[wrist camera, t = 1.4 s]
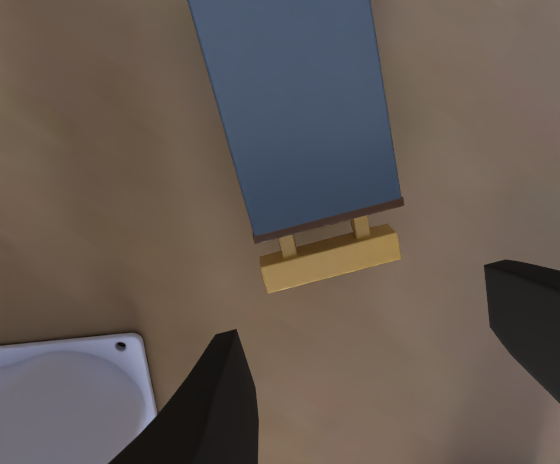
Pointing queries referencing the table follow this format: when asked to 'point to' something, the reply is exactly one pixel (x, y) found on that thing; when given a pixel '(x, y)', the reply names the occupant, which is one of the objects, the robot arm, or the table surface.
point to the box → (304, 128)
